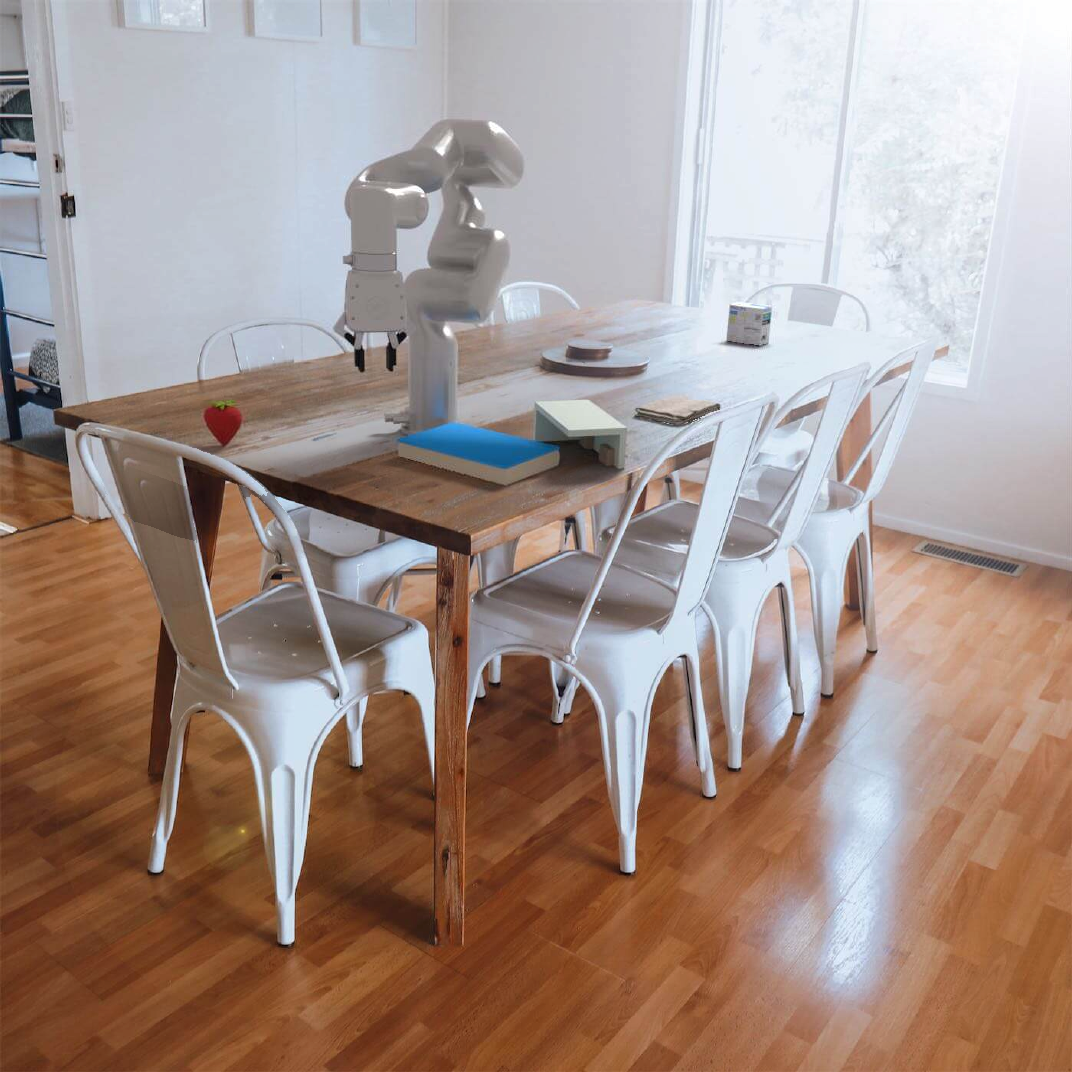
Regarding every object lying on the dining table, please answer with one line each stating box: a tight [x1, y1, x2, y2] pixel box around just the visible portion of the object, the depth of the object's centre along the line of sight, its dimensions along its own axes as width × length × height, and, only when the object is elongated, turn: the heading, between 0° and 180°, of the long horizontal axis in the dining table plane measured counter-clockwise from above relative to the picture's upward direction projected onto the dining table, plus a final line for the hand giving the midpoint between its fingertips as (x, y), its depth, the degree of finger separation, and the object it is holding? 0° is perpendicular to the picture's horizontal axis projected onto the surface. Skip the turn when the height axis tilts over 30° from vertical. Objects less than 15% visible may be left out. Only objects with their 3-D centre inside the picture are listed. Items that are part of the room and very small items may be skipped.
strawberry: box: [203, 391, 243, 446], centre depth 208 cm, size 6×8×10 cm
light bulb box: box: [726, 301, 773, 347], centre depth 323 cm, size 11×7×11 cm, turn 58°
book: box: [396, 422, 561, 486], centre depth 206 cm, size 17×4×25 cm
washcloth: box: [634, 395, 721, 426], centre depth 244 cm, size 12×18×3 cm, turn 143°
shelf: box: [532, 399, 628, 470], centre depth 212 cm, size 11×21×8 cm, turn 17°
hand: (375, 369), depth 196 cm, fingers open, 4 cm apart
